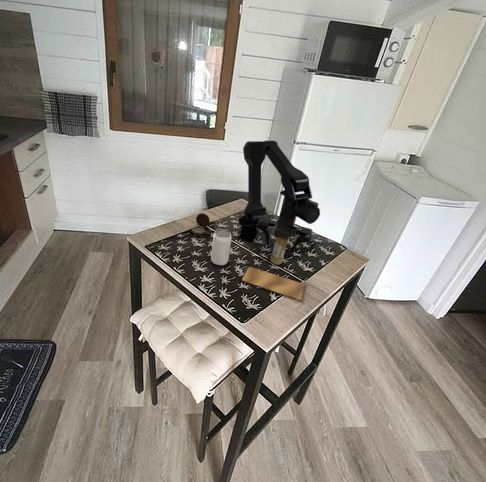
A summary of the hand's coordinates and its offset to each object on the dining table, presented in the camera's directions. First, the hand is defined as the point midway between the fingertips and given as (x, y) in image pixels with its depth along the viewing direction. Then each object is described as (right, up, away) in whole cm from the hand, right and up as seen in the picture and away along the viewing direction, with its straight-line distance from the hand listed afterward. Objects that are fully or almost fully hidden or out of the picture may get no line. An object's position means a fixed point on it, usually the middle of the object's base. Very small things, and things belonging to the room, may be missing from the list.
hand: (279, 248), depth 104 cm
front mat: (-4, -11, -8) cm, 15 cm away
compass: (-30, +7, +17) cm, 35 cm away
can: (-22, -5, 0) cm, 23 cm away
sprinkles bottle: (-1, -5, +3) cm, 6 cm away
